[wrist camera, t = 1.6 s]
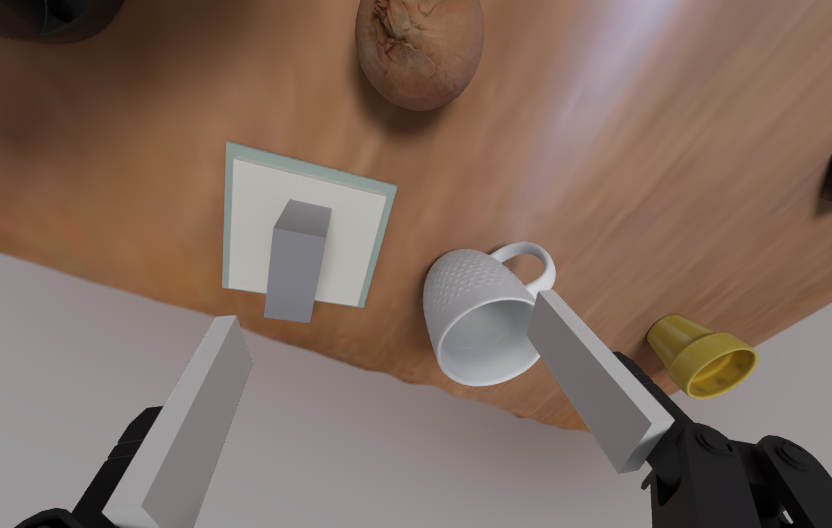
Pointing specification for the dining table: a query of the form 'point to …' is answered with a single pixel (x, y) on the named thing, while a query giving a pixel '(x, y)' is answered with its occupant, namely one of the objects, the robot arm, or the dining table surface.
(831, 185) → the beverage carton
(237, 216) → the lid
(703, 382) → the plant pot
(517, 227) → the dining table surface
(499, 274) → the mug
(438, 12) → the onion
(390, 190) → the mat
